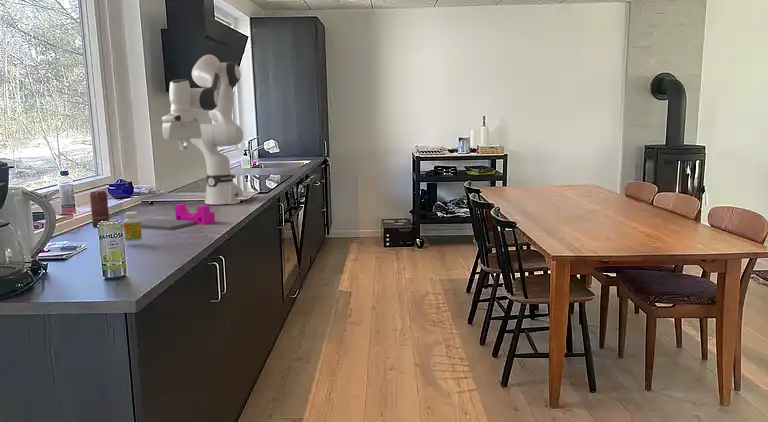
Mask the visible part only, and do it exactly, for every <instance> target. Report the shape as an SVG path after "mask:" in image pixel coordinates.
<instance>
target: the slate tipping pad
mask: <svg viewBox="0 0 768 422" xmlns="http://www.w3.org/2000/svg"><path fill="white" fill-rule="evenodd" d="M140 222H141V229H150V230H151V229H152V230H166V231H167V230H168V231H173V230H176V229H181V228H185V227H188V226H189V227H190V226H193V225H197V224H196V221H186V220H176V219H169V218H168V219H167V218H153V217H149V218H145V219H140Z"/></svg>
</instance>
